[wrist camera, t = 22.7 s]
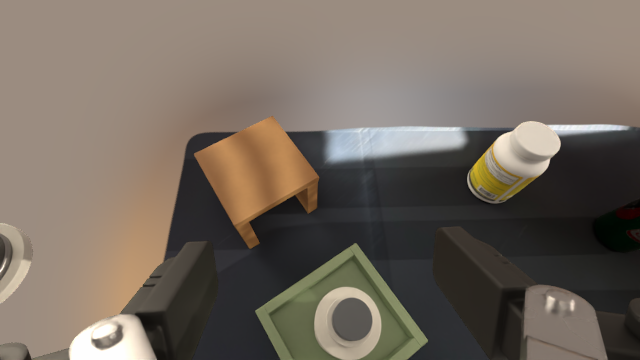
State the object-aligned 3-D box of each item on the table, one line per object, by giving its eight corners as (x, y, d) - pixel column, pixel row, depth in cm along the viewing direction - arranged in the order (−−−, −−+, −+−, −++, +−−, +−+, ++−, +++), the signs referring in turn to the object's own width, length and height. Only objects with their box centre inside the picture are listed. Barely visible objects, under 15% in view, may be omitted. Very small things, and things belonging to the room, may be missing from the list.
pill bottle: (505, 167, 44) (559, 117, 35) (515, 206, 41) (577, 164, 32) (462, 164, 44) (504, 113, 35) (468, 203, 41) (516, 159, 32)
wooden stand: (250, 250, 38) (234, 225, 30) (216, 190, 42) (193, 153, 34) (317, 209, 41) (319, 176, 33) (279, 156, 44) (272, 115, 37)
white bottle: (333, 368, 31) (344, 381, 20) (304, 319, 33) (300, 307, 22) (375, 335, 32) (407, 330, 21) (344, 290, 34) (360, 264, 23)
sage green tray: (319, 425, 30) (320, 434, 27) (260, 314, 34) (254, 311, 31) (418, 341, 33) (428, 340, 30) (352, 250, 38) (355, 242, 35)
